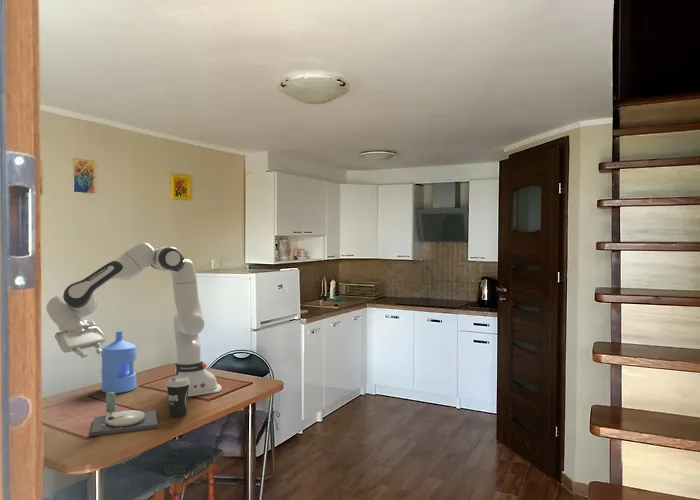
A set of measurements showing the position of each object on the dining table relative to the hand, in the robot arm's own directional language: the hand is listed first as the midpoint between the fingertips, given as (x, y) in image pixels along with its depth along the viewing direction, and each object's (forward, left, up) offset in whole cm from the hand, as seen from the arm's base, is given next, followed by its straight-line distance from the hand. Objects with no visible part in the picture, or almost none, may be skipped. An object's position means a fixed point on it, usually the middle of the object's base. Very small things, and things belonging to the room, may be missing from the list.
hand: (92, 354), depth 210 cm
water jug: (-9, -40, -26) cm, 49 cm away
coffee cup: (-33, +10, -26) cm, 43 cm away
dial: (-13, +14, -24) cm, 30 cm away
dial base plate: (-13, +14, -26) cm, 32 cm away
